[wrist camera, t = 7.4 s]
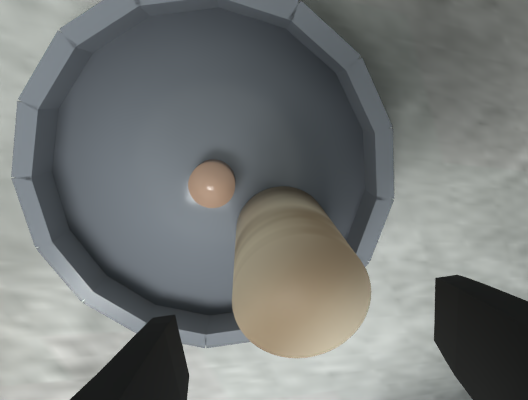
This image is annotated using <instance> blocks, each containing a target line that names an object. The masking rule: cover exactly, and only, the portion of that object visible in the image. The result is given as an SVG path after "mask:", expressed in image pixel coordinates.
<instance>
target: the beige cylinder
mask: <svg viewBox="0 0 528 400" xmlns="http://www.w3.org/2000/svg"><path fill="white" fill-rule="evenodd" d="M370 300H371V285H370V280H369V276H368V273H367V271H366V268H365V267H364V265H363V263H362V262H361V260H360V259H359V258H358V256H357V255H356V253H355V252H354V251H353V249H352V248H351V247H350V245H349V244H348V243H347V241H346V240H345V239H344V237H343V236H342V234H341V233H340V232H339V230H338V229H337V228H336V226H335V225H334V224H333V222H332V221H331V220H330V218H329V217H328V215H327V214H326V213H325V211H324V210H323V209H322V207H321V206H320V205H319V203H318V202H317V201H316V200H315V199H314V198H313V197H312V196H311V195H309V194H308V193H306V192H304V191H302V190H300V189H297V188H293V187H286V186H279V187H272V188H269V189H266V190H263V191H261V192H259V193H258V194H256V195H255V196H253V197H252V198H251V199H250V200H249V201H248V202H247V203H246V204H245V206H244V207H243V208H242V210H241V212H240V214H239V217H238V220H237V226H236V241H235V257H234V273H233V289H232V309H233V313H234V317H235V320H236V322H237V324H238V326H239V328H240V330H241V331H242V332H243V334H244V335H245V336H246V337H247V338H248V339H249V340H250V341H251V342H252V343H253V344H254V345H256V346H257V347H259V348H260V349H262V350H264V351H266V352H269V353H271V354H274V355H277V356H281V357H288V358H307V357H312V356H317V355H320V354H324V353H326V352H328V351H331V350H333V349H335V348H336V347H338V346H340V345H341V344H343V343H344V342H345V341H347V340H348V339H349V338H350V337H351V336H352V335H353V334H354V333H355V332H356V331H357V330H358V328H359V327H360V325H361V324H362V322H363V320H364V319H365V317H366V314H367V312H368V309H369V305H370Z"/></svg>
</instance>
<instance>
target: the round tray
mask: <svg viewBox="0 0 528 400" xmlns="http://www.w3.org/2000/svg"><path fill="white" fill-rule="evenodd" d="M298 1H299V0H103V1H101V2H100V3H98V4H96V5H95V6H93V7H92V8H90V9H89V10H87V11H86V12H84V13H83V14H81V15H80V16H78V17H77V18H75V19H74V20H72V21H71V22H69V23H68V24H66V25H64V26H63V27H61V28H60V30H61V31H57V33H56V35H55V36H54V38H53V40H52V41H51V43H50V45H49V47H48V48H47V50H46V52H45V53H44V55H43V57H42V59H41V60H40V62H39V64H38V66H37V67H36V69H35V71H34V72H33V74H32V76H31V78H30V79H29V81H28V83H27V84H26V86H25V88H24V90H23V91H22V93H21V95H20V97H19V98H18V99H19V100H20V101H17V112H16V125H15V137H14V149H13V162H12V174H11V177H15V178H12V181H13V184H14V187H15V190H16V193H17V196H18V199H19V202H20V205H21V207H22V210H23V213H24V216H25V219H26V222H27V225H28V228H29V231H30V234H31V236H32V239H33V242H34V245H35V247H38V248H36V249H37V250H38V252H39V253H40V254H41V255H42V256H43V257H44V259H45V260H46V261H47V262H48V263H49V264H50V266H51V267H52V268H53V269H54V270H55V271H56V273H57V274H58V275H59V276H60V277H61V279H62V280H63V281H64V282H65V283H66V284H67V286H68V287H69V288H70V289H71V290H72V291H73V293H74V294H75V295H76V296H77V297H78V298H79V300H80V301H83V300H84V301H83V303H84V304H86V305H88V306H89V307H91V308H93V309H95V310H96V311H98V312H100V313H102V314H103V315H105V316H107V317H109V318H110V319H112V320H114V321H116V322H117V323H119V324H121V325H123V326H124V327H126V328H128V329H130V330H131V331H133V332H135V333H138V332H139V331H140V330H141V329H142V328H143V327H144V326H145V325H146V324H147V323H148V322H149V321H150V320H151V319H152V318H153V317H161V316H168V315H175V316H176V320H177V325H178V329H179V333H180V338H181V342H182V344H186V345H191V346H197V347H202V348H205V345H206V348H211V347H218V346H225V345H232V344H239V343H246V342H251V341H250V340H249V339H248V338H247V337H246V336H245V335H244V334H243V332H242V331H241V330H240V328H239V326H238V324H237V322H236V320H235V317H234V313H233V309H232V289H233V273H234V257H235V241H236V226H237V220H238V217H239V214H240V212H241V210H242V208H243V207H244V206H245V204H246V203H247V202H248V201H249V200H250V199H251V198H252V197H253V196H255V195H256V194H258V193H259V192H261V191H263V190H266V189H269V188H272V187H279V186H286V187H293V188H297V189H300V190H302V191H304V192H306V193H308V194H309V195H311V196H312V197H313V198H314V199H315V200H316V201H317V202H318V203H319V205H320V206H321V207H322V209H323V210H324V211H325V213H326V214H327V215H328V217H329V218H330V220H331V221H332V222H333V224H334V225H335V226H336V228H337V229H338V230H339V232H340V233H341V234H342V236H343V237H344V239H345V240H346V241H347V243H348V244H349V245H350V247H351V248H352V249H353V251H354V252H355V253H356V255H357V256H358V258H359V259H360V260H361V262H362V263H363V265H364V267H366V266H367V264H368V263H369V262H368V261H370V260H371V257H372V255H373V252H374V250H375V247H376V244H377V242H378V239H379V237H380V234H381V232H382V229H383V227H384V224H385V221H386V219H387V216H388V214H389V211H390V209H391V206H392V203H393V201H394V200H393V199H394V158H393V128H391V127H393V126H392V124H391V122H390V119H389V117H388V115H387V113H386V110H385V108H384V106H383V103H382V101H381V99H380V97H379V94H378V92H377V90H376V88H375V85H374V83H373V81H372V78H371V76H370V74H369V72H368V69H367V67H366V65H365V63H364V60H363V58H362V57H361V58H359V57H360V56H361V55H360V54H359V53H358V52H357V51H355V50H354V49H353V48H352V47H351V46H350V45H349V44H348V43H347V42H346V41H345V40H344V39H342V38H341V37H340V36H339V35H338V34H337V33H336V32H335V31H334V30H333V29H332V28H331V27H329V26H328V25H327V24H326V23H325V22H324V21H323V20H322V19H321V18H320V17H319V16H318V15H316V14H315V13H314V12H313V11H312V10H311V9H310V8H309V7H308V6H307V5H306V4H304V3H303V2H302V1H300V2H299V4H298ZM358 58H359V59H358Z"/></svg>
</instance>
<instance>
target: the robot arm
mask: <svg viewBox="0 0 528 400" xmlns="http://www.w3.org/2000/svg"><path fill="white" fill-rule="evenodd" d="M434 341H435V343H436V344H437V346H438V348H439V350H440V351H441V353H442V355H443V357H444V358H445V360H446V362H447V363H448V365H449V367H450V368H451V370H452V372H453V373H454V375H455V376H456V378H457V379H458V380H459V382H460V383H461V384H462V386H463V387H464V388H465V390H466V391H467V392H468V394H469V395H470V396H471V398H472V399H473V400H528V301H525V300H523V299H520V298H518V297H515V296H513V295H510V294H508V293H505V292H503V291H500V290H498V289H495V288H493V287H490V286H488V285H485V284H482V283H480V282H477V281H474V280H472V279H469V278H466V277H463V276H459V275H453V276H446V277H439V278H436V281H435V325H434ZM188 382H189V373H188V368H187V364H186V359H185V355H184V351H183V346H182V342H181V338H180V333H179V329H178V325H177V320H176V316H175V315H168V316H161V317H153V318H152V319H151V320H150V321H149V322H148V323H147V324H146V325H145V326H144V327H143V328H142V329H141V330H140V331H139V332H138V333H137V334H136V335H135V336H134V337H133V338H132V339H131V340H130V341H129V342H128V343H127V344H126V345H125V346H124V347H123V348H122V349H121V350H120V351H119V352H118V353H117V354H116V355H115V356H114V357H113V358H112V359H111V361H110V362H109V363H108V364H107V365H106V366H105V367H104V368H103V369H102V370H101V371H100V372H99V373H98V374H97V375H96V376H94V377H93V378H92V379H91V380H90V381H89V382H88V383H87V384H86V385H85V386H84V387H83V388H82V389H81V390H80V391H79V392H77V393H76V394H75V395H74V396H73V397H72V398H71V399H70V400H187V393H188Z"/></svg>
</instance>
